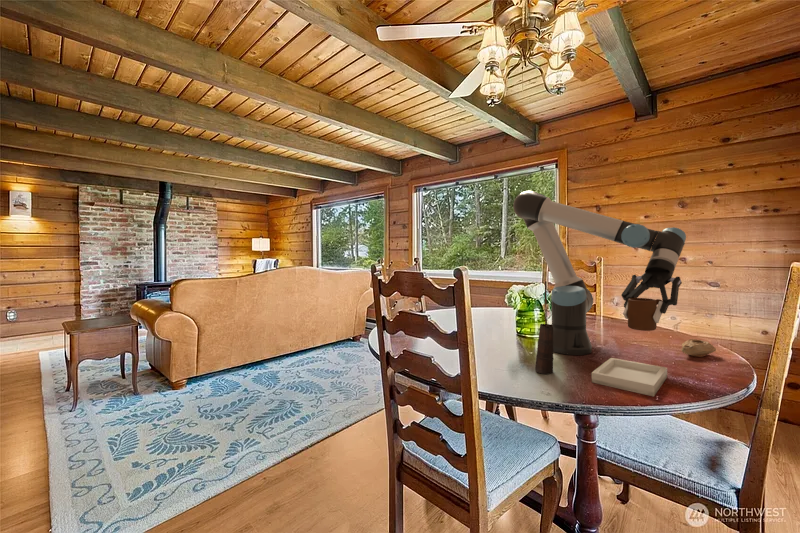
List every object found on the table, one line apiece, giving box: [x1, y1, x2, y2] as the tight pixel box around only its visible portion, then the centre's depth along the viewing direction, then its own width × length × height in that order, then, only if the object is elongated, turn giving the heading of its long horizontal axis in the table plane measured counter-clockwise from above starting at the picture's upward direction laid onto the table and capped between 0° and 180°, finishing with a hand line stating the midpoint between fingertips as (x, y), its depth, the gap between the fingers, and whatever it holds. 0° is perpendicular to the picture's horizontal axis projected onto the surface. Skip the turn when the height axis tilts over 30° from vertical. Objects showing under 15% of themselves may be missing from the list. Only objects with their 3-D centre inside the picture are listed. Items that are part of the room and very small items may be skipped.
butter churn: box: [534, 280, 554, 375], centre depth 106 cm, size 9×10×28 cm
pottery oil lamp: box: [680, 338, 717, 358], centre depth 120 cm, size 9×12×7 cm
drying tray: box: [591, 357, 668, 397], centre depth 99 cm, size 14×18×3 cm
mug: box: [627, 297, 663, 332], centre depth 111 cm, size 12×8×9 cm, turn 99°
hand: (640, 318), depth 110 cm, fingers closed on mug, 8 cm apart
